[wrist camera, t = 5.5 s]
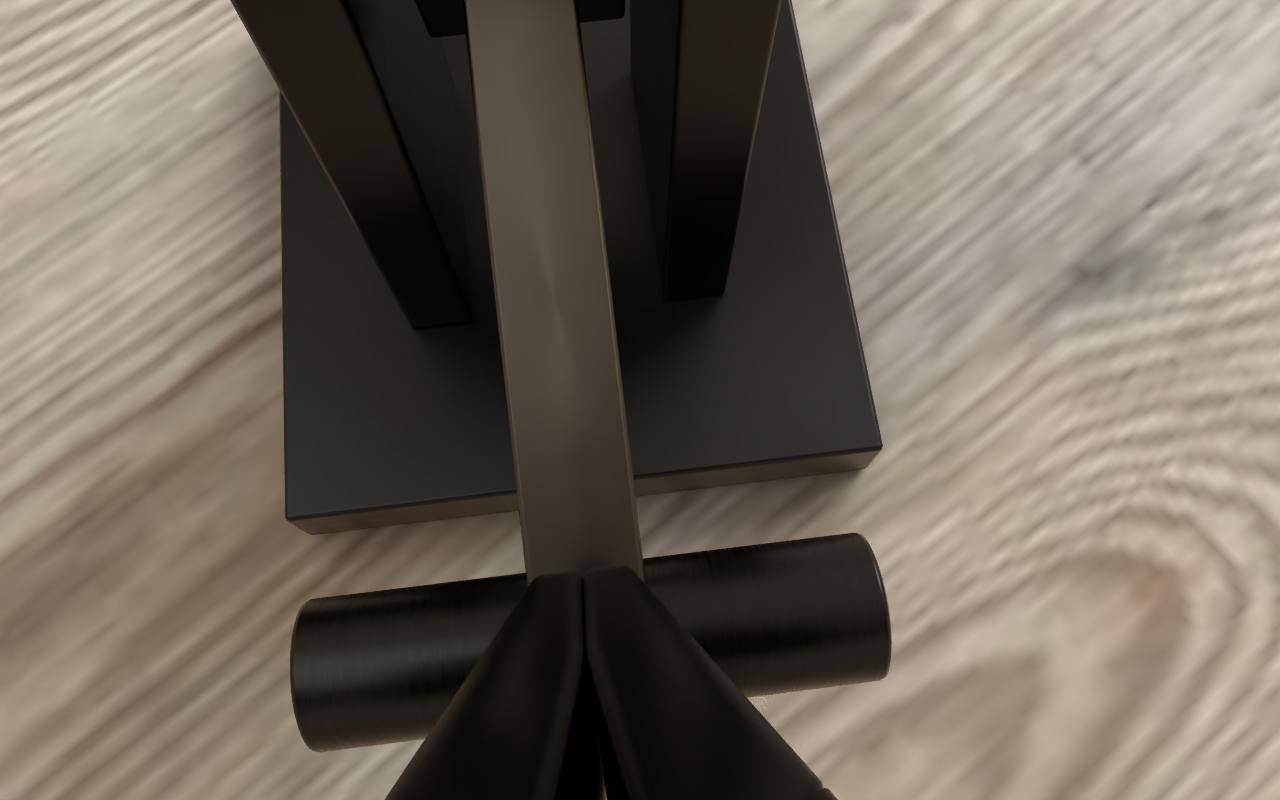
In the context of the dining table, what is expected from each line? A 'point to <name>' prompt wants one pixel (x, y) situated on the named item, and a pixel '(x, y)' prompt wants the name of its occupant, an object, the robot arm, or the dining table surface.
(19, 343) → the dining table surface
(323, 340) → the bracket
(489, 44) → the lever
